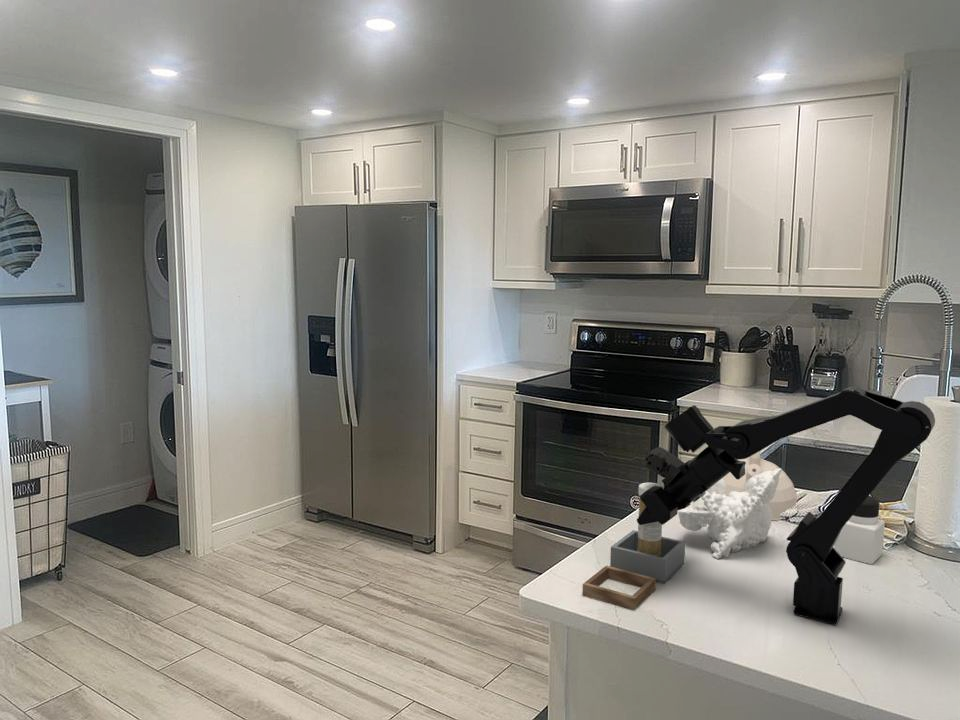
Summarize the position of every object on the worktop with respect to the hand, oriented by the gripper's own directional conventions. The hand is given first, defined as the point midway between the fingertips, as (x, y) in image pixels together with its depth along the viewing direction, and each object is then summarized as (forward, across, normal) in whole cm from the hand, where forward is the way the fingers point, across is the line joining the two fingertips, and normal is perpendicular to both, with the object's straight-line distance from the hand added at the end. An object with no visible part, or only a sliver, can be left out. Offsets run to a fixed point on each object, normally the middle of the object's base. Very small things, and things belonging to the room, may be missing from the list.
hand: (643, 519), depth 137 cm
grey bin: (+6, 0, +7) cm, 9 cm away
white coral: (0, -21, +13) cm, 25 cm away
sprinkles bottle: (+4, 0, +6) cm, 7 cm away
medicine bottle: (-16, -31, +30) cm, 46 cm away
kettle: (+2, -48, +11) cm, 50 cm away
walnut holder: (+6, +13, +8) cm, 16 cm away
